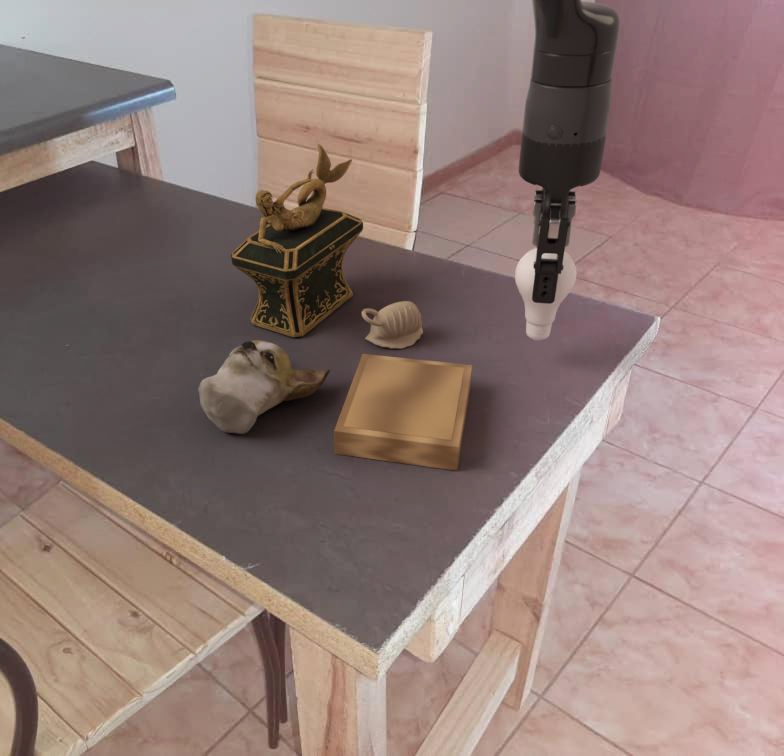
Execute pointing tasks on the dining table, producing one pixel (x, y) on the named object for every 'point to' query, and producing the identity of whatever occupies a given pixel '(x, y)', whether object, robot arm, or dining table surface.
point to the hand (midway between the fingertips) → (543, 285)
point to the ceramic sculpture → (254, 385)
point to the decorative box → (299, 255)
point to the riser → (405, 411)
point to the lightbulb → (542, 313)
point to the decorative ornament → (395, 325)
